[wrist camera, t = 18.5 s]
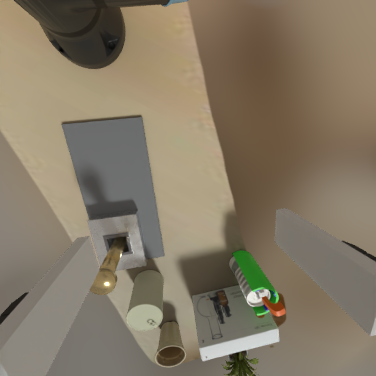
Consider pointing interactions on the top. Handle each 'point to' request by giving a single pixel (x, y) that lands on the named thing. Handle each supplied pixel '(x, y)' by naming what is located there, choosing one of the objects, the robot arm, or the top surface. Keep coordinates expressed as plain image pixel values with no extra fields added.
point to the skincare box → (230, 323)
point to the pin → (109, 268)
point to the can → (146, 301)
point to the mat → (116, 172)
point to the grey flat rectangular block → (118, 227)
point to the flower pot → (170, 346)
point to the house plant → (240, 364)
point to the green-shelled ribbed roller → (255, 284)
